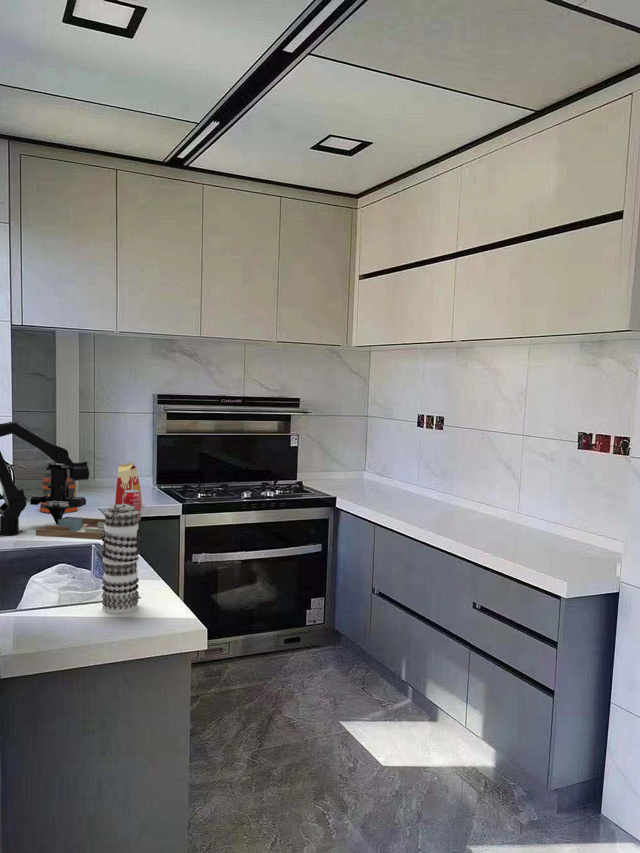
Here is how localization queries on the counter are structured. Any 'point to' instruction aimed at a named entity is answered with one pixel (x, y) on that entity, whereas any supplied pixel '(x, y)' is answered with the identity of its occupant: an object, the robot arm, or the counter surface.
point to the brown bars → (65, 531)
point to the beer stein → (47, 491)
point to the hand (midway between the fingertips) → (58, 524)
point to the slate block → (71, 523)
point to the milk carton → (126, 481)
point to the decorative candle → (120, 559)
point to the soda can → (133, 500)
